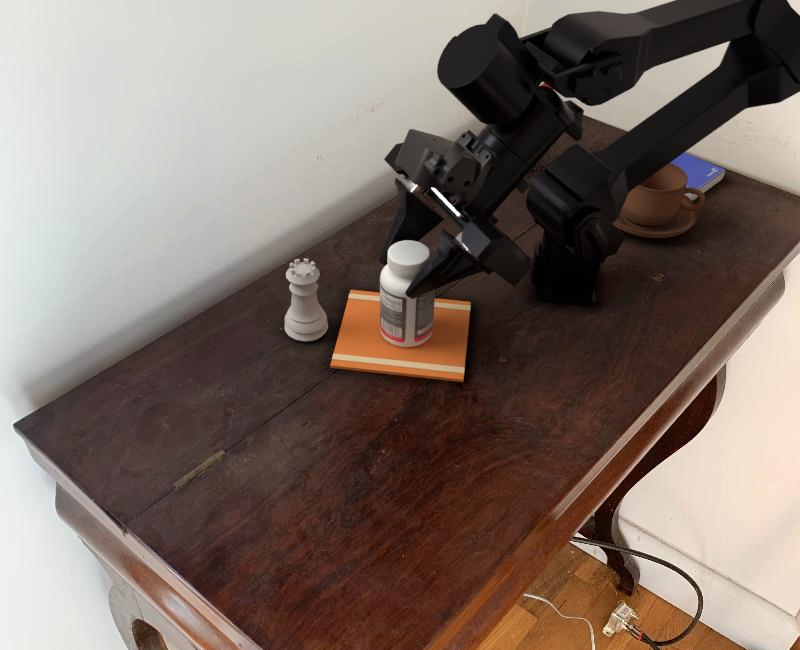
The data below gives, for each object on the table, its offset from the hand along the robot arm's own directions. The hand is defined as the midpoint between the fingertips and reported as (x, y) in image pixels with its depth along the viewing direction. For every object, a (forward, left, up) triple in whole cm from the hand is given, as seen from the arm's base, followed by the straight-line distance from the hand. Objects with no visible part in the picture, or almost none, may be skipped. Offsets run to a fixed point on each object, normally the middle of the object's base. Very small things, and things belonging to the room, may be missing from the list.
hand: (394, 279), depth 76 cm
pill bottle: (-1, -1, -7) cm, 7 cm away
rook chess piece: (+9, 0, -8) cm, 12 cm away
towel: (-1, -1, -7) cm, 8 cm away
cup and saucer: (-28, -27, -8) cm, 39 cm away
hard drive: (-32, -39, -8) cm, 51 cm away
